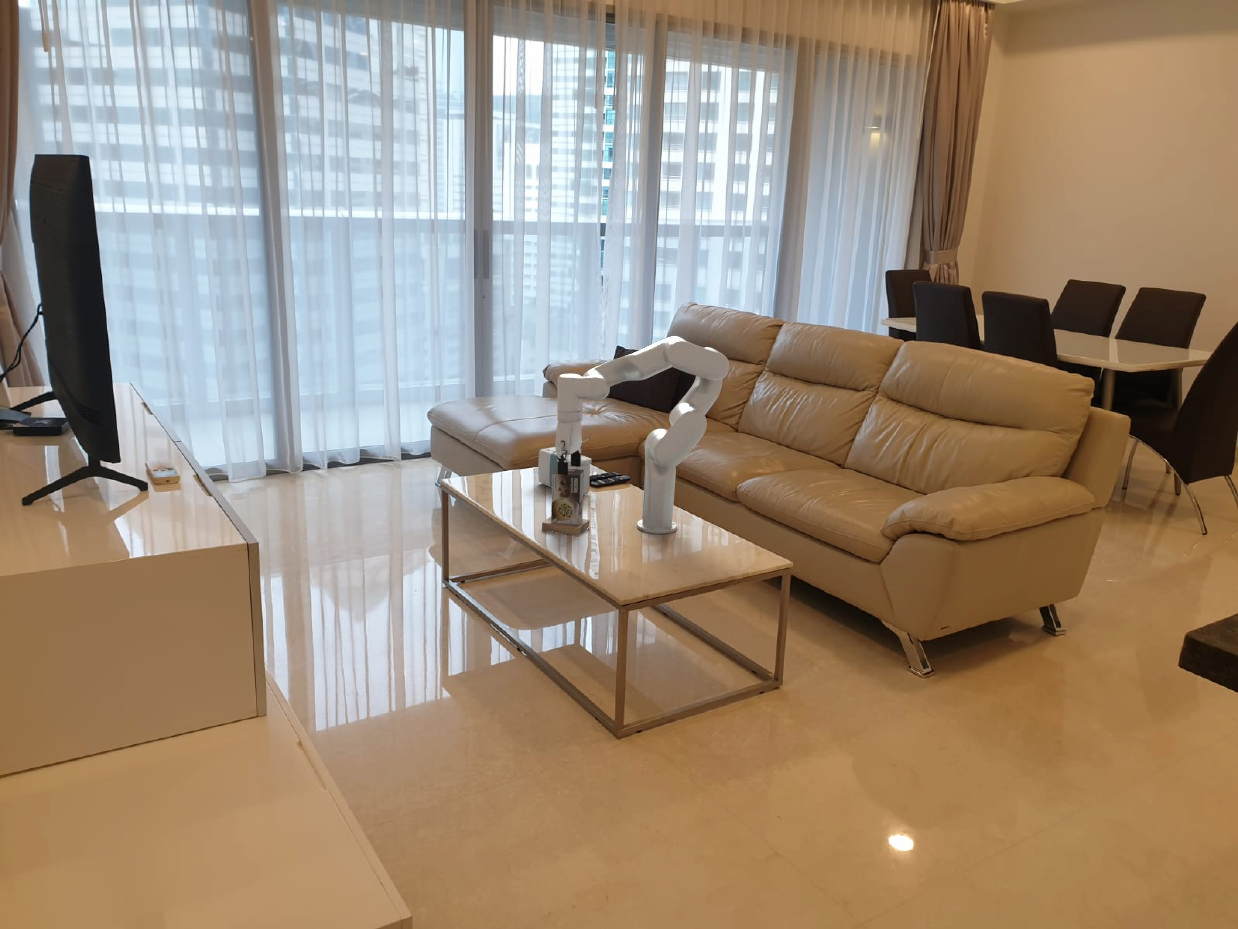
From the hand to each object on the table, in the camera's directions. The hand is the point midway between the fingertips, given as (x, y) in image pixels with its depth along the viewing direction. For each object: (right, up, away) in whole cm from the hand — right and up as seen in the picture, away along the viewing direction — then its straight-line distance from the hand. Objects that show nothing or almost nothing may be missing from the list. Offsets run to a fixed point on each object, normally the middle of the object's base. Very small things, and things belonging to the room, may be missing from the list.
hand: (569, 470), depth 275 cm
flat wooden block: (-1, -18, +5) cm, 19 cm away
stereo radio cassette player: (-4, -7, +45) cm, 45 cm away
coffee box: (-1, -16, +4) cm, 17 cm away
